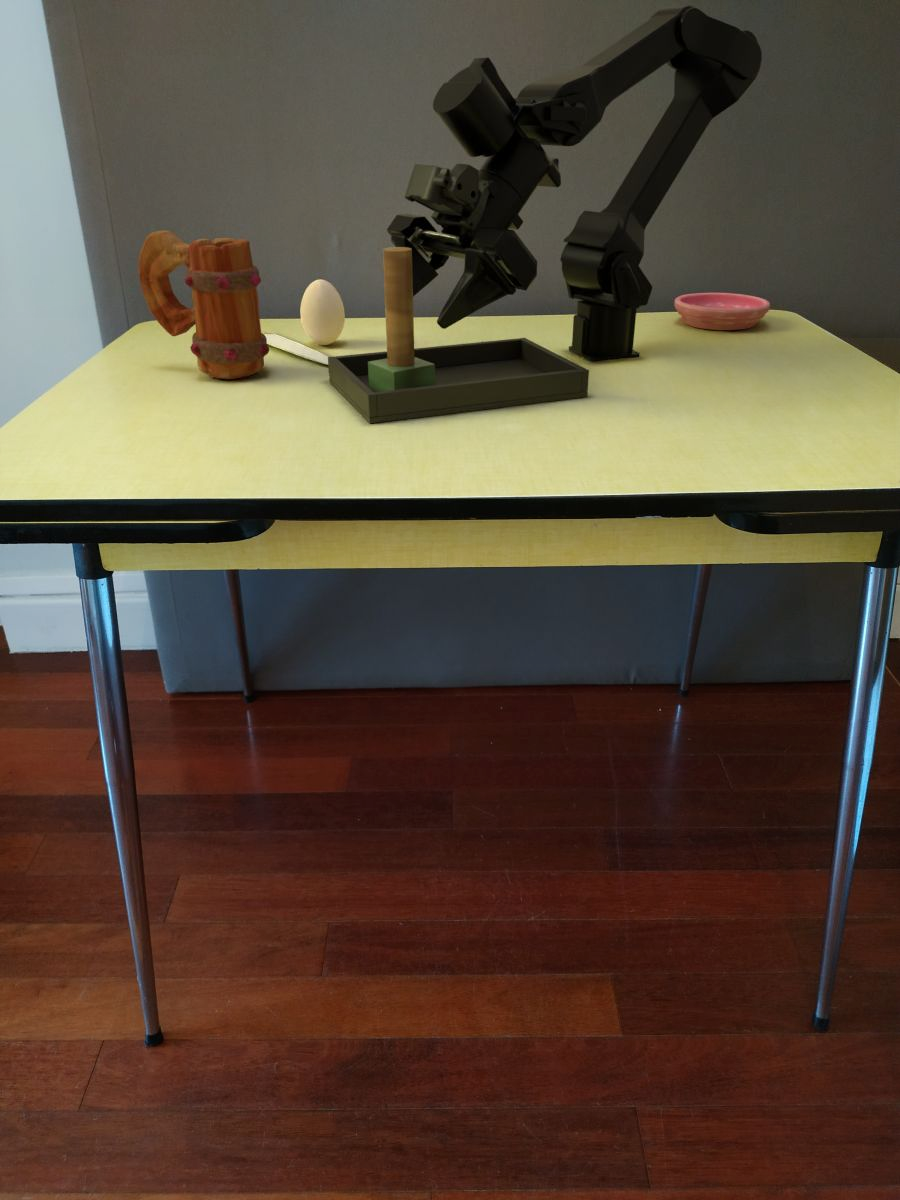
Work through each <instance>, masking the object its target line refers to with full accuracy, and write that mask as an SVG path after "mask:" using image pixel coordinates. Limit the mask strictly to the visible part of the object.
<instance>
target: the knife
mask: <svg viewBox="0 0 900 1200" xmlns="http://www.w3.org/2000/svg"><path fill="white" fill-rule="evenodd" d="M261 333H262V334H264V335H265V336H266V338H267V345H269V346H272V347H274V348H276V349H279V350H283V351H285V352H287V353H290V354H293V355H296V356H298V357H300V358H304V359H306V360H310V361H313V362H317V363H320V364H323V365H327V366H328V357H329V356H328V355H326V354H324V353H322V352H321V351H318V350H316V349H314V348H311V347H308V346H306V345H304V344H301V343H299V342H297V341H295V340H292V339H289V338H287V337H284V336H281V335H278V334H275V333H274V332H272V331H268V330H261Z"/></svg>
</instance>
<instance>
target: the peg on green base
mask: <svg viewBox="0 0 900 1200" xmlns="http://www.w3.org/2000/svg"><path fill="white" fill-rule="evenodd" d="M382 260H383V261H382V262H383V286H384V287H383V288H384V289H383V290H384V309H385V311H384V313H385V335H386V336H385V337H386V339H385V340H386V351H387V358H386V359H381V360H375V361H370V362H368V375H369V389H371V390H372V391H373V392H381V391H390V390H399V389H408V388H416V387H425V386H434V385H435V364H433V363H430V362H427V361H424V360H422V359H419V358H416V357H415V354H414V349H415V319H414V318H415V317H414V297H413V275H412V249H411V248H408V247H395V246H389V247H384V248H383V249H382Z"/></svg>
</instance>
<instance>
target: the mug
mask: <svg viewBox="0 0 900 1200" xmlns="http://www.w3.org/2000/svg"><path fill="white" fill-rule="evenodd" d="M181 265H182V266H186V267H187V268H186V270H185V278H184V282H185V285H187V286H188V288H190V289H191V295H192V303H193V307H187V306H185V305H183V304H182V303H181V302H180V301H179V299H178V298H177V296H176V295H175V294H174V293H175V292H174V290H173V287H172V284H171V281H170V276H169V275H170V274H171V273H172V272H173V271H175V270H176V269H177V268H179V267H180V266H181ZM137 266H138V279H139V284H140V287H141V291H142V295H143V297H144V299H145V303H146V304H147V307H148V309H149V311H150V313H151V314H152V315H153V317H154V319H155V320H156V321H157V322H158V324H159V325H160V326H161V327H162V328H163V329H164V330H165V331H166V333H168V334H169V335H170V336H171V337H177V336H180V335H183V334H186V333H187V332H189V331H190V330H191V329H192V328H193V327H194V326H195V332H194V333H193V334H192V337H191V341H192V343H191V345H190V347H189V348H190V351H191V353H192V354H193V355H195V357H196V358H197V359H196V360H197V367H198V369H199V370H200V371H201V372H202V373H203V374H205V375H208V376H209V377H212V378H213V379H220V380H221V379H224V380H236V379H242V378H247V377H249V376H252V375H254V374H256V373H258V372H259V371H261V370H262V369H263V368H264V366H265V356H267V355H268V354H269V352H270V346H268V344H267V338H266V336H265V335H264V334H262V333H261V331H262V327H261V319H260V308H259V307H260V306H259V304H260V303H259V293H258V290H257V289H258V288H257V287H258V286H259V285H260V284H261V282H262V279H261V277H260V270H259V269H258V267H257V266H255V265H254V263H253V257H252V252H251V245H250V241H249V240H247V239H246V238H241V239H235V238H231V237H216V238H215V239H214V240H210V239H209V238H200V239H195V240H193V241H191V243H189V244H188V243H185V242H184V241H183V240H181V239H180V238H179V237H178V236H177V235H175V233H174V232H173V231H170V230H168V229H164V230H157V231H153V232H151V233H149V234H148V235H147V236H146V239H145V241H144V242H143V244H142V247H141V249H140V253H139V258H138V263H137Z"/></svg>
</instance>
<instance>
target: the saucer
mask: <svg viewBox="0 0 900 1200" xmlns="http://www.w3.org/2000/svg"><path fill="white" fill-rule="evenodd" d="M770 307H771V303H770V301H768V299H765V298H762V297H758V296H754V295H749V294H741V293H733V292H696V293H687V294H682V295H679V296H678V297H676V298H675V299H674V309H676V311H677V314H678V315H679V316H680V317H681V318H682V320H683V322H684V324H686V325H688V326H690V327H692V328H693V327H694V328H698V329H703V330H704V329H705V330H714V331H739V330H747V329H751V328H753V327H754V326H756V324H757V323H758V321H759V320H762V319H763V318H764V317H765V315H766V314H768V312H769V311H770Z"/></svg>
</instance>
